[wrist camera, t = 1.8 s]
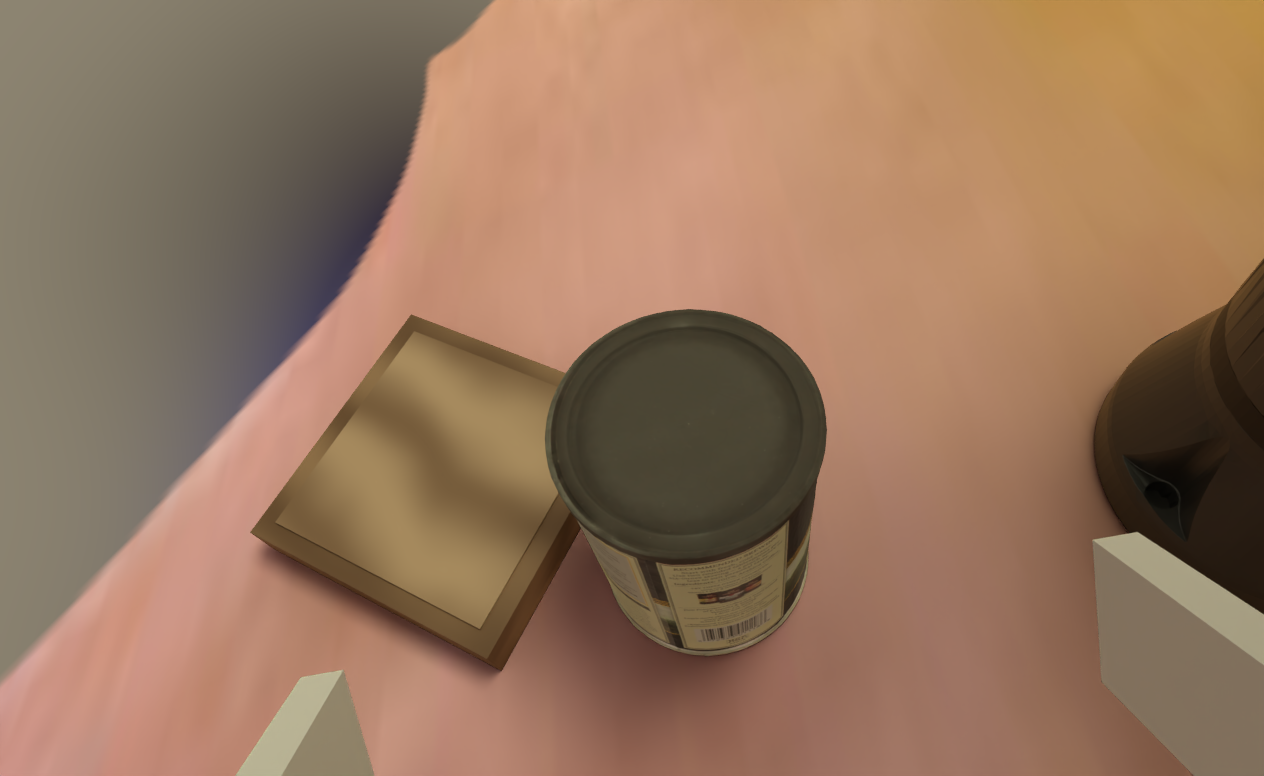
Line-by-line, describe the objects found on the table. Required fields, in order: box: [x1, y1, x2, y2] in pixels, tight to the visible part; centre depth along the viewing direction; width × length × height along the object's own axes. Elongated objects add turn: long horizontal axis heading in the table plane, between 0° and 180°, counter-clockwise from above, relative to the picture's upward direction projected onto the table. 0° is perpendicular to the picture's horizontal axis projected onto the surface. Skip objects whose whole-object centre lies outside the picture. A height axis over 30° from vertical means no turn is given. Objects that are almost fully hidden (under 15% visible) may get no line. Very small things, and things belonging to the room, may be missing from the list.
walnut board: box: [250, 315, 581, 671], centre depth 45 cm, size 15×15×3 cm
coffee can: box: [545, 309, 827, 656], centre depth 36 cm, size 10×10×14 cm
